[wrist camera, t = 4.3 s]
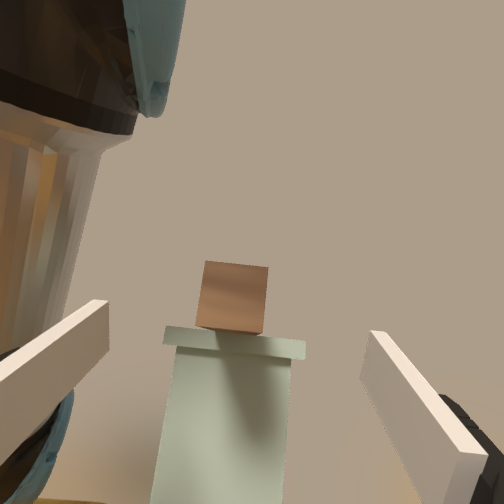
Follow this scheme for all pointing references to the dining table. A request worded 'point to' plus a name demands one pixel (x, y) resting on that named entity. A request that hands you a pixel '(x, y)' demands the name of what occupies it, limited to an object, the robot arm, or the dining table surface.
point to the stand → (225, 419)
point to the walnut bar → (232, 298)
